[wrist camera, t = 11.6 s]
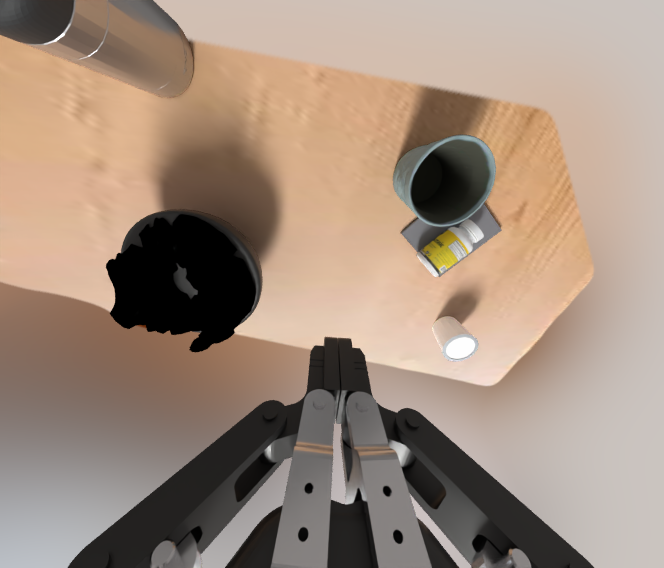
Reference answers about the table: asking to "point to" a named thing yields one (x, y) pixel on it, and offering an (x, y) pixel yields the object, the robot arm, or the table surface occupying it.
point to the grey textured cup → (446, 179)
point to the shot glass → (454, 339)
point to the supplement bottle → (450, 247)
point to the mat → (424, 233)
